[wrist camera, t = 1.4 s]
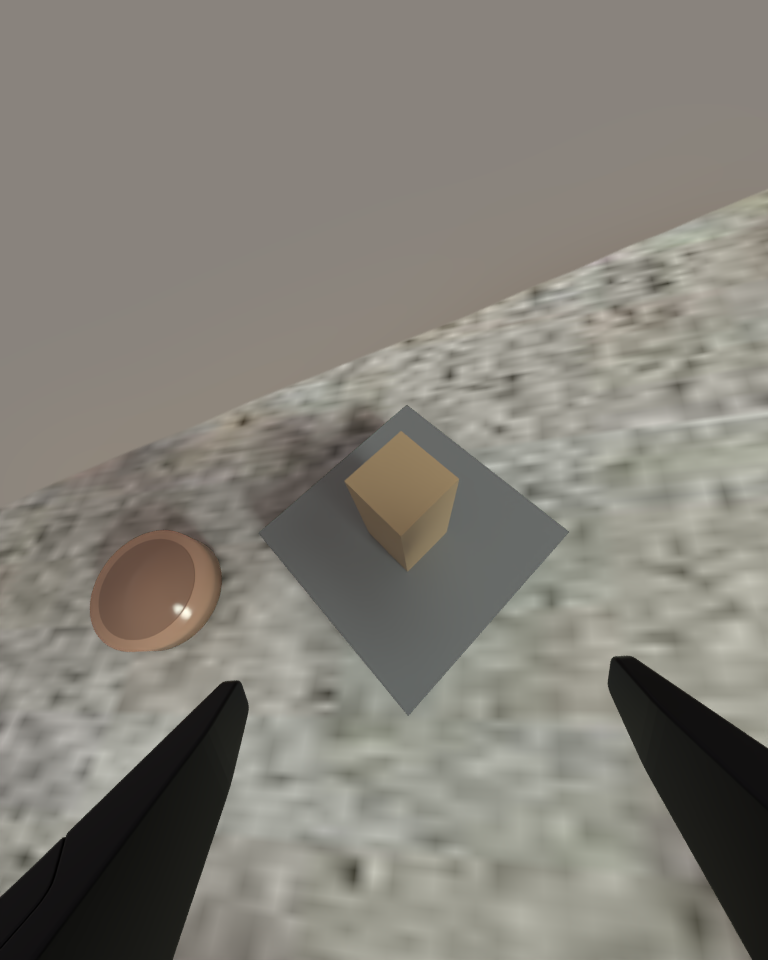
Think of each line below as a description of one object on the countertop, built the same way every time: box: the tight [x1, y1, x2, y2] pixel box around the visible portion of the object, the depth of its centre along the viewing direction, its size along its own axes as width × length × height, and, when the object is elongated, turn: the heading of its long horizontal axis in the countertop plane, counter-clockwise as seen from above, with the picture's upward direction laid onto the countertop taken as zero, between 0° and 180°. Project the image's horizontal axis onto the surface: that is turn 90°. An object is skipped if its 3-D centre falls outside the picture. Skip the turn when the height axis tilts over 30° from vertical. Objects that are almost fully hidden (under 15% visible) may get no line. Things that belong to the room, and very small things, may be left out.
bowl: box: [90, 530, 222, 652], centre depth 22 cm, size 7×7×3 cm
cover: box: [259, 405, 569, 716], centre depth 18 cm, size 12×12×11 cm
